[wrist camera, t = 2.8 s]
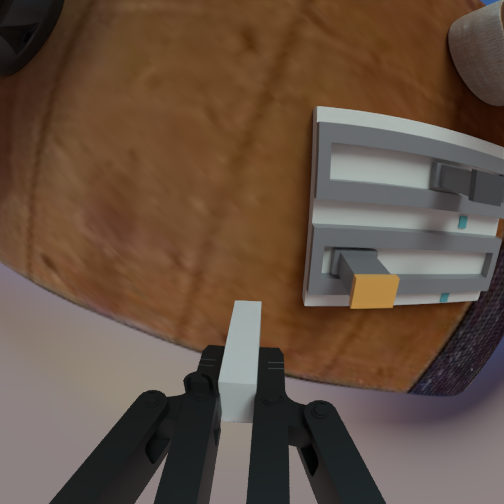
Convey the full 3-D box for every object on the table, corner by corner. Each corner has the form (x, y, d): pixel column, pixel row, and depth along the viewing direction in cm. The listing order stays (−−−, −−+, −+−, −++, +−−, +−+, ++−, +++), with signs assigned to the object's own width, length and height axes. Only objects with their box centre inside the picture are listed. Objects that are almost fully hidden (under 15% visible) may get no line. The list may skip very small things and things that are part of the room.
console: (313, 109, 23) (319, 104, 20) (495, 146, 22) (513, 149, 19) (302, 295, 29) (305, 312, 26) (469, 292, 28) (482, 305, 25)
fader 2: (432, 160, 21) (474, 169, 15) (464, 167, 21) (506, 178, 15) (430, 186, 22) (470, 201, 16) (461, 191, 22) (502, 207, 16)
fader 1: (333, 246, 25) (352, 278, 19) (375, 247, 24) (403, 278, 19) (330, 271, 26) (346, 308, 20) (371, 272, 25) (396, 307, 19)
